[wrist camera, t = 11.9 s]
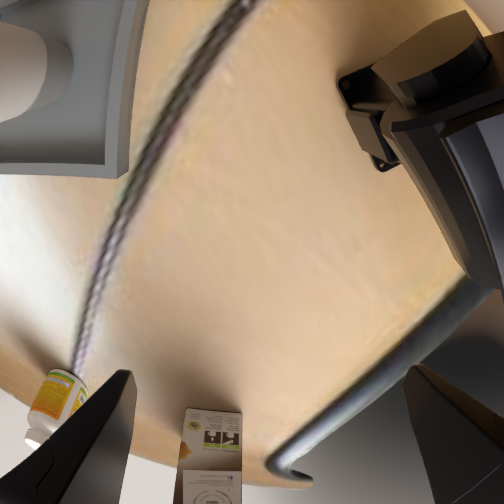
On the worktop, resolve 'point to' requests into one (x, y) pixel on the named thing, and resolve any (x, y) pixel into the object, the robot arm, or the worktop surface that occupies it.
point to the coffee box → (210, 459)
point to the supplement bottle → (54, 405)
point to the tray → (79, 89)
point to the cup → (30, 70)
